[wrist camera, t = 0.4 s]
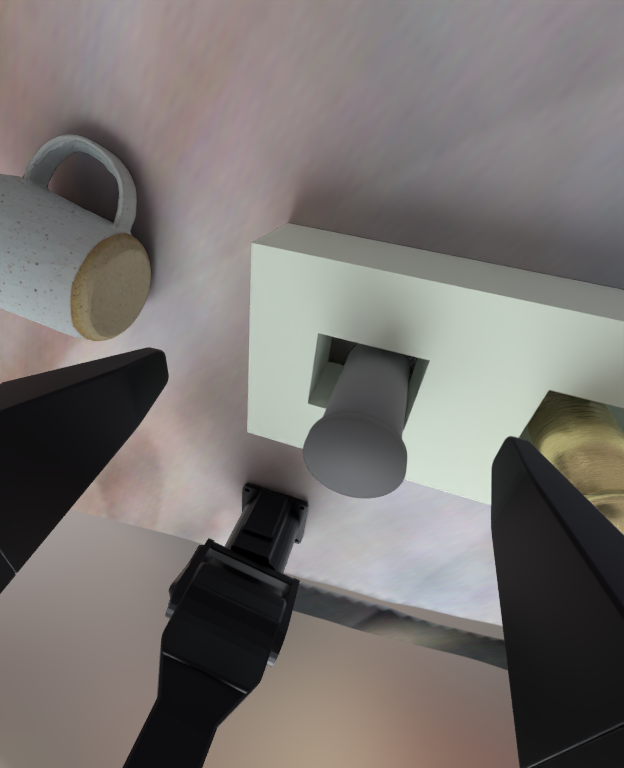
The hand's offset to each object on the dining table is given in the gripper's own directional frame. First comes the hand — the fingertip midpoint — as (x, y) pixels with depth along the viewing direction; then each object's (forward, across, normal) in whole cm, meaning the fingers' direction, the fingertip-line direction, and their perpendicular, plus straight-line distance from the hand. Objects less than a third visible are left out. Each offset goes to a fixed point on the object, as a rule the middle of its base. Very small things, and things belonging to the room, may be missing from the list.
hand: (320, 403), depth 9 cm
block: (+14, -6, +5) cm, 16 cm away
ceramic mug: (+14, +19, +1) cm, 23 cm away
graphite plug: (+11, -1, +5) cm, 12 cm away
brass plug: (+11, -11, +5) cm, 16 cm away
